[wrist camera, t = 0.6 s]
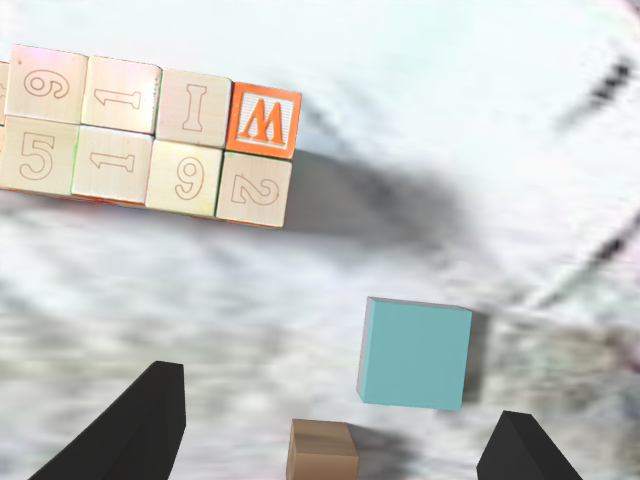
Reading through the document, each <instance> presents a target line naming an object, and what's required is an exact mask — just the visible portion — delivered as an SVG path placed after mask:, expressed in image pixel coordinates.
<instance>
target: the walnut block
mask: <svg viewBox="0 0 640 480" xmlns="http://www.w3.org/2000/svg"><path fill="white" fill-rule="evenodd" d="M358 462H359V455H358V452H357V450H356V447H355V445H354V442H353V440H352V437H351V435H350V432H349V430H348V427H347V424H346V423H345V422H330V421H316V420H302V419H292V426H291V434H290V443H289V451H288V459H287V468H286V480H356V479H357V471H358Z"/></svg>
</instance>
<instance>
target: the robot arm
mask: <svg viewBox="0 0 640 480" xmlns="http://www.w3.org/2000/svg"><path fill="white" fill-rule="evenodd" d="M185 427H186V412H185V390H184V368H183V364H177V363H170V362H163V361H155V362H154V363H152V364H151V365H150V366H149V367H148V368H147V369H146V370H145V371H144V372H143V373H142V374H141V375H140V376H139V377H138V378H137V379H136V380H135V381H134V382H133V383H132V384H131V385H130V386H129V387H128V388H127V389H126V390H125V391H124V392H123V393H122V394H121V395H120V396H119V397H118V398H117V399H116V400H115V401H114V402H113V403H112V404H111V405H110V406H109V407H108V408H107V409H106V410H105V411H104V412H103V413H102V414H101V415H100V416H99V417H98V418H97V419H95V420H94V421H93V422H92V423H91V424H90V425H89V426H88V427H87V428H86V429H85V430H84V431H83V432H82V433H80V434H79V435H78V436H77V437H76V438H75V439H74V440H73V441H72V442H71V443H70V444H68V445H67V446H66V447H65V448H64V449H63V450H62V451H61V452H59V453H58V454H57V455H56V456H55V457H54V458H52V459H51V460H50V461H49V462H48V463H47V464H45V465H44V466H43V467H42V468H41V469H40V470H38V471H37V472H36V473H35V474H34V475H33V476H31V477H30V478H29V479H28V480H168V477H169V475H170V473H171V470H172V467H173V464H174V461H175V458H176V455H177V452H178V449H179V446H180V443H181V440H182V437H183V433H184V430H185ZM476 468H477V476H478V480H583V479H582V478H581V477H580V476H579V474H578V473H577V472H576V471H575V469H574V468H573V467H572V466H571V464H570V463H569V462H568V460H567V459H566V458H565V457H564V455H563V454H562V453H561V452H560V450H559V449H558V448H557V446H556V445H555V444H554V443H553V441H552V440H551V439H550V438H549V436H548V435H547V434H546V432H545V431H544V430H543V429H542V427H541V426H540V425H539V424H538V422H537V421H536V420H535V419H534V417H533V416H532V415H531V414H525V413H518V412H511V411H503V413H502V415H501V417H500V419H499V421H498V423H497V425H496V427H495V429H494V431H493V434H492V436H491V438H490V440H489V442H488V444H487V446H486V448H485V450H484V452H483V454H482V456H481V459H480V461H479V463H478V465H477V467H476Z"/></svg>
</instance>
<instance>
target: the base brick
mask: <svg viewBox="0 0 640 480" xmlns="http://www.w3.org/2000/svg"><path fill="white" fill-rule="evenodd" d="M471 318H472V312H471V311H469V310H466V309H464V308H461V307H459V306H453V305H443V304H434V303H424V302H415V301H405V300H395V299H386V298H376V297H367V305H366V314H365V322H364V331H363V339H362V347H361V356H360V364H359V373H358V381H357V392H358V394H359V396H360V398H361V399H362V401H363V403H368V404H381V405H394V406H407V407H421V408H434V409H447V410H461V402H462V394H463V385H464V377H465V369H466V360H467V352H468V343H469V335H470V327H471Z"/></svg>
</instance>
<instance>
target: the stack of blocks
mask: <svg viewBox="0 0 640 480" xmlns="http://www.w3.org/2000/svg"><path fill="white" fill-rule="evenodd" d="M301 97H302V94H301V93H300V92H295V91H289V90H283V89H277V88H271V87H266V86H260V85H254V84H249V83H243V82H233V81H232V80H231V79H229V78H225V77H218V76H213V75H205V74H199V73H193V72H187V71H180V70H173V69H163V70H162V69H161V68H160V67H158V66H156V65H151V64H146V63H139V62H132V61H126V60H119V59H113V58H107V57H100V56H90V57H87V56H84V55H81V54H76V53H70V52H63V51H57V50H50V49H44V48H38V47H31V46H24V45H19V44H12V48H11V58H10V63H6V62H1V61H0V189H4V190H11V191H17V192H23V193H28V194H34V195H41V196H48V197H56V198H63V199H71V200H78V201H87V202H94V203H100V204H110V205H117V206H124V207H131V208H141V209H148V210H156V211H162V212H169V213H175V214H181V215H188V216H191V217H197V218H203V219H210V220H216V221H223V222H229V223H234V224H239V225H245V226H252V227H259V228H265V229H272V230H279V229H283V227H284V219H285V211H286V204H287V197H288V190H289V184H290V177H291V171H292V163H293V154H294V148H295V141H296V134H297V128H298V120H299V113H300V106H301Z"/></svg>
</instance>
